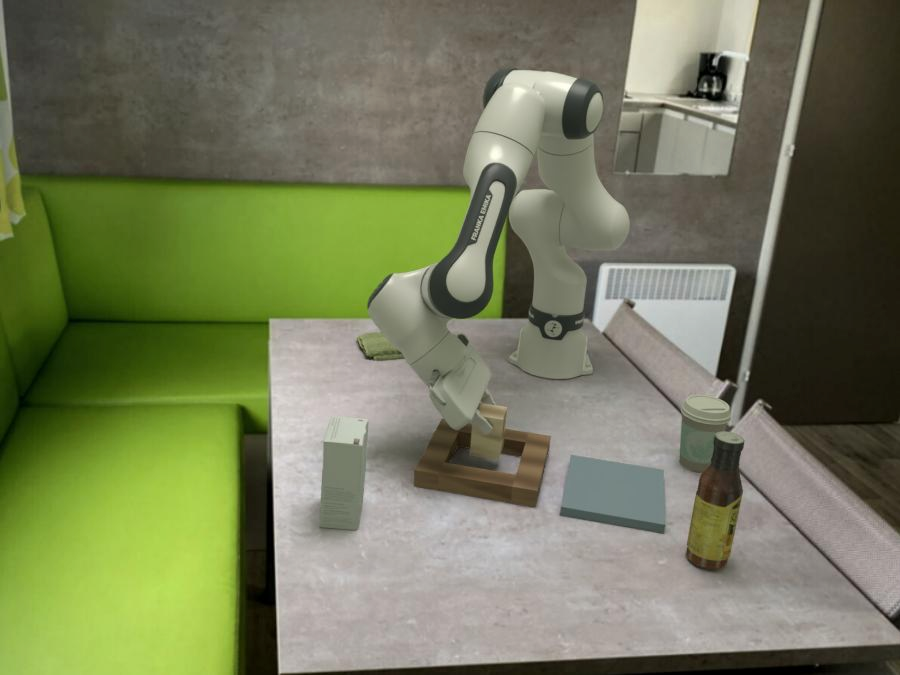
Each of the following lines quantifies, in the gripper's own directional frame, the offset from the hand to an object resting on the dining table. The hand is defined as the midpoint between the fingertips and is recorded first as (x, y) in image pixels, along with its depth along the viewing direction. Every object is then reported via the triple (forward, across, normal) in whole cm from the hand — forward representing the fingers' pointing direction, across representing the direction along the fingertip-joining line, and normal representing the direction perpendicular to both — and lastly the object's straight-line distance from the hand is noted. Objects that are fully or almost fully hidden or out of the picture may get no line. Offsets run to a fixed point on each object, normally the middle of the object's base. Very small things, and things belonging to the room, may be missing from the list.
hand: (493, 422), depth 146 cm
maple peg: (+3, 0, +4) cm, 5 cm away
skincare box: (-7, -22, +19) cm, 30 cm away
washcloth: (-14, +48, +28) cm, 57 cm away
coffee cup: (+31, +14, -19) cm, 39 cm away
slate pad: (+21, -2, -9) cm, 23 cm away
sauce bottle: (+31, -16, -19) cm, 40 cm away
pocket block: (+6, 0, +6) cm, 9 cm away
